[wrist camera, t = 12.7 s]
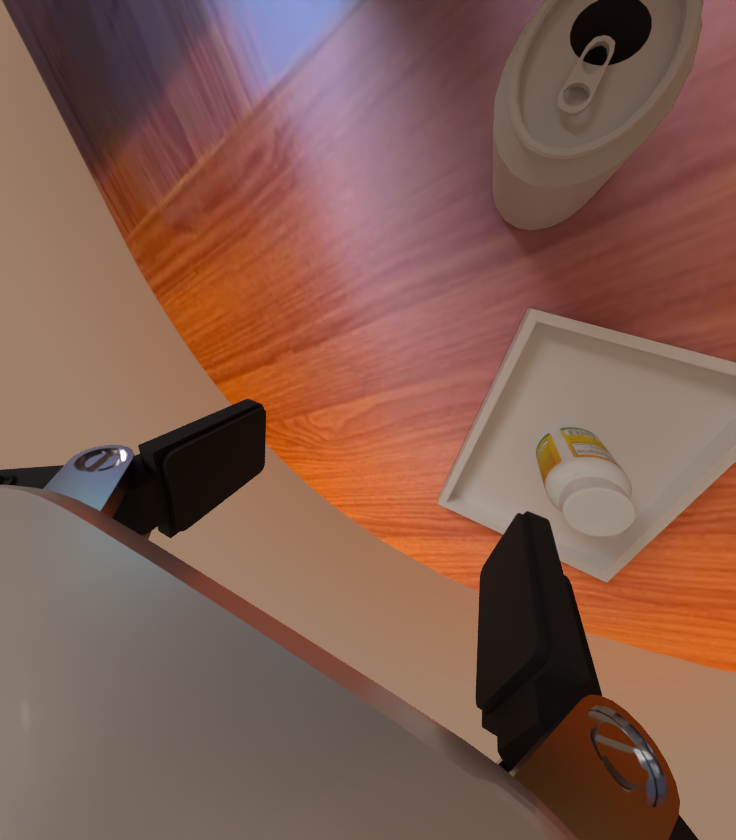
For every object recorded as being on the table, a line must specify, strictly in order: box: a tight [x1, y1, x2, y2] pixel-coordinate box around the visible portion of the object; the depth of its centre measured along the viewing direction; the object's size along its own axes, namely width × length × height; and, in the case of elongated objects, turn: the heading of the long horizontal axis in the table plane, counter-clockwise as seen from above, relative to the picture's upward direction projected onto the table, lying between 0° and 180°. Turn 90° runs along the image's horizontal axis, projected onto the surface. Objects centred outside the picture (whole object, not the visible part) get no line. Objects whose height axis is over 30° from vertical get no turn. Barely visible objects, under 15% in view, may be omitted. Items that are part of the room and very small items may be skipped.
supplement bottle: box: [536, 426, 636, 537], centre depth 23 cm, size 5×5×10 cm
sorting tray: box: [438, 308, 736, 583], centre depth 26 cm, size 22×18×2 cm
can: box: [492, 0, 703, 230], centre depth 16 cm, size 8×8×12 cm
